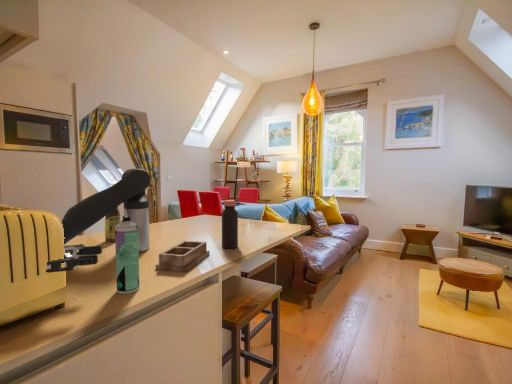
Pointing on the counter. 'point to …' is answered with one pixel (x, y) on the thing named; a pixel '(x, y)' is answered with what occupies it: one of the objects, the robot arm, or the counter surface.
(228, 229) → the vinegar
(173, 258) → the rack
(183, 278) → the counter surface
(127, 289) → the spray can
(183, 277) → the counter surface
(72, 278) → the counter surface
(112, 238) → the sauce bottle
